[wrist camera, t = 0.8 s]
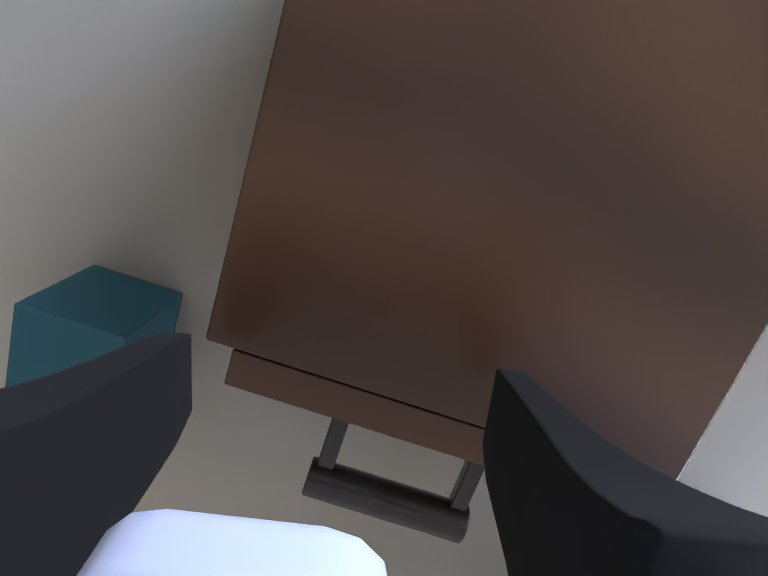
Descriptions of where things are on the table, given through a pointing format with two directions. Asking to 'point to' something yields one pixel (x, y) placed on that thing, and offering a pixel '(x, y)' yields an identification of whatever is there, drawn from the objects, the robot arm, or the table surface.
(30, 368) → the box
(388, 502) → the drawer
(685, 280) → the cabinet
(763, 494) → the table surface
